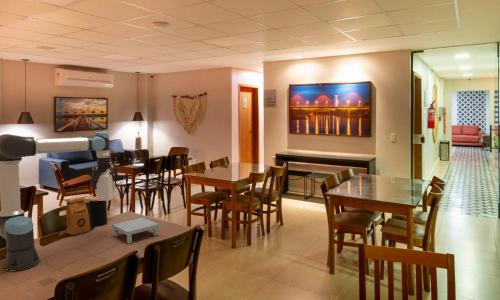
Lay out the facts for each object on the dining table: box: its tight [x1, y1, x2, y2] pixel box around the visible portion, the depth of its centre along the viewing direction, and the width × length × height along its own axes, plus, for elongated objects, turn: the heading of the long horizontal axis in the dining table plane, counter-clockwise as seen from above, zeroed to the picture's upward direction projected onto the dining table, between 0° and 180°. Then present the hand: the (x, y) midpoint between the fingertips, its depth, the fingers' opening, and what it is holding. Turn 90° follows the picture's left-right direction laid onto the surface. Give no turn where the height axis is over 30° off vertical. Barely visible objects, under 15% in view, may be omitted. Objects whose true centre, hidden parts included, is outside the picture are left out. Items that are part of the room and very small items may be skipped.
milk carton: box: [95, 168, 115, 202], centre depth 224 cm, size 7×7×19 cm
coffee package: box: [65, 197, 91, 236], centre depth 229 cm, size 10×12×22 cm
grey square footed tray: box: [111, 217, 160, 244], centre depth 222 cm, size 20×20×7 cm
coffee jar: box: [88, 195, 108, 227], centre depth 246 cm, size 11×11×18 cm
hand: (105, 192), depth 225 cm, fingers closed on milk carton, 10 cm apart
